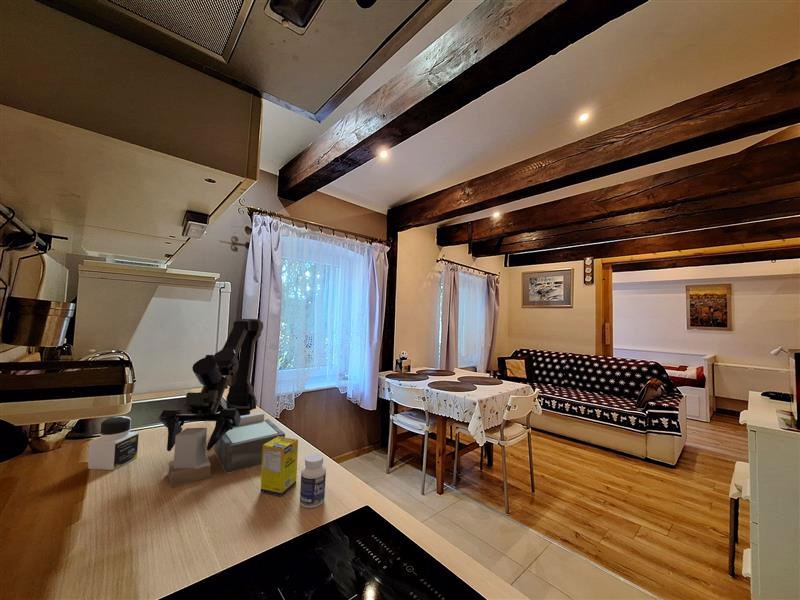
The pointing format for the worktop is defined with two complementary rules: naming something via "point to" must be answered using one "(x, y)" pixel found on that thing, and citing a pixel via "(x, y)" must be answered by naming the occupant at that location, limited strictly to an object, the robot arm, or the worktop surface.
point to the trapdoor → (250, 428)
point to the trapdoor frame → (243, 451)
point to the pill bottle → (313, 481)
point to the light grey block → (190, 447)
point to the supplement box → (279, 465)
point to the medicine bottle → (113, 444)
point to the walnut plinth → (189, 473)
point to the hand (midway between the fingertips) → (188, 450)
